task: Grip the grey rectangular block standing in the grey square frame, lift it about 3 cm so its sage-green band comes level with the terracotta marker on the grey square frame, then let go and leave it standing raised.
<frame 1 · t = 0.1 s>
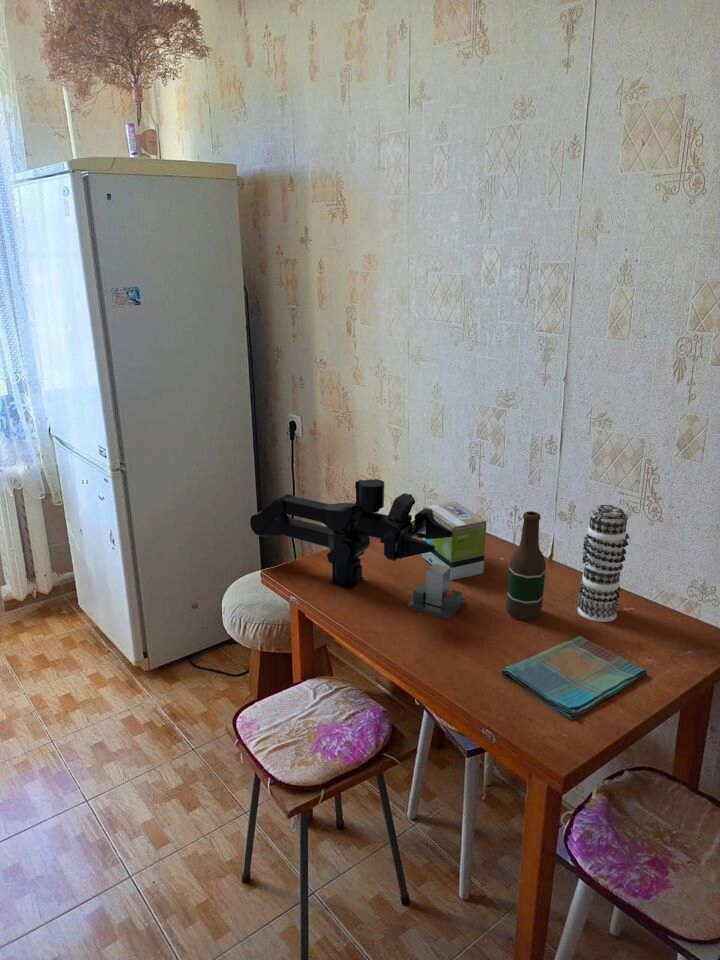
hand: (443, 541, 158), 17 cm above the table, tool horizontal, fingers open, 9 cm apart
grey square frame: (437, 605, 164), on the table
dish towel: (573, 679, 138), on the table
decorative candle: (596, 613, 161), on the table
tea box: (451, 566, 184), on the table
grey rectangular block: (437, 586, 163), point 5 cm above the table, slide at 0.0 cm
beer bottle: (523, 613, 161), on the table
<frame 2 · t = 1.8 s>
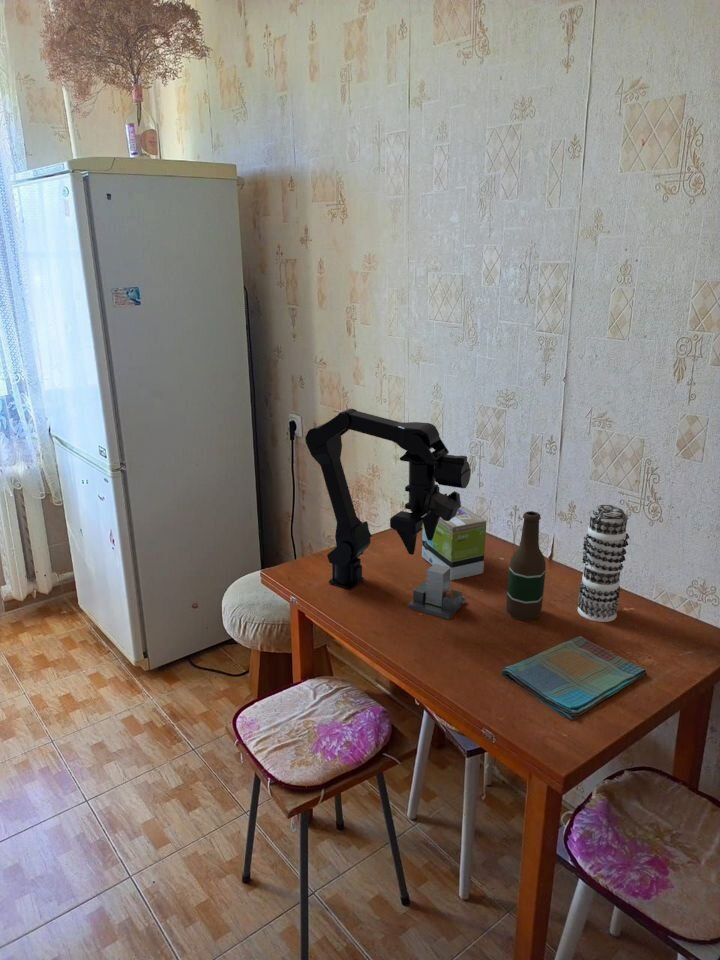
hand: (420, 547, 162), 13 cm above the table, tool pointing down, fingers open, 9 cm apart
nothing on the table moved.
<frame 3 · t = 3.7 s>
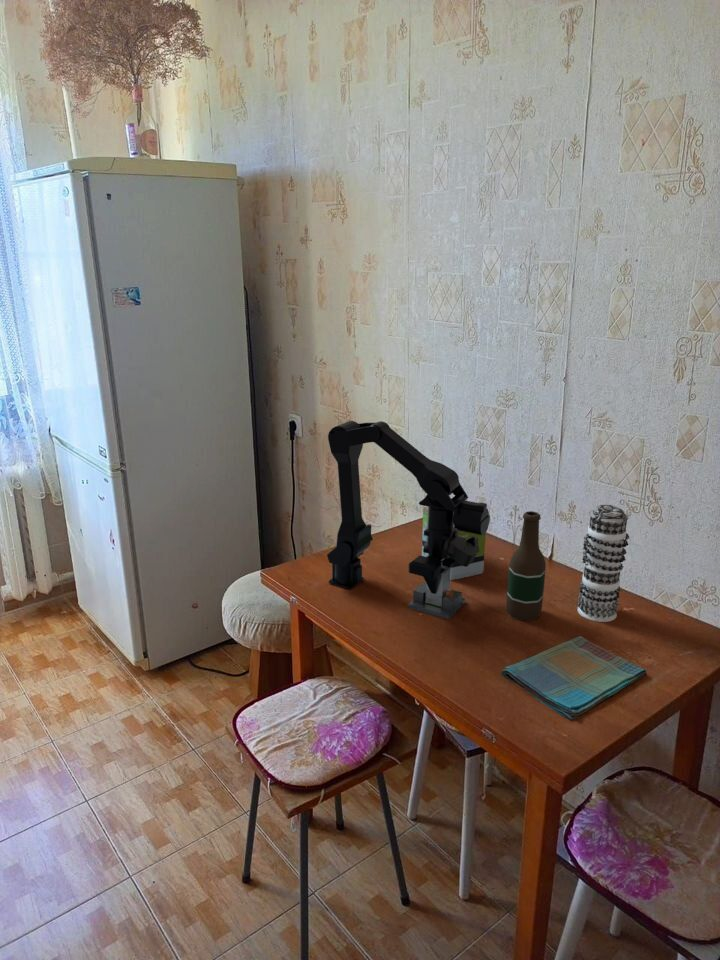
hand: (437, 589, 163), 4 cm above the table, tool pointing down, fingers closed on grey rectangular block, 4 cm apart
grey rectangular block: (437, 586, 163), point 5 cm above the table, slide at 0.0 cm, touching gripper
everything else where it was.
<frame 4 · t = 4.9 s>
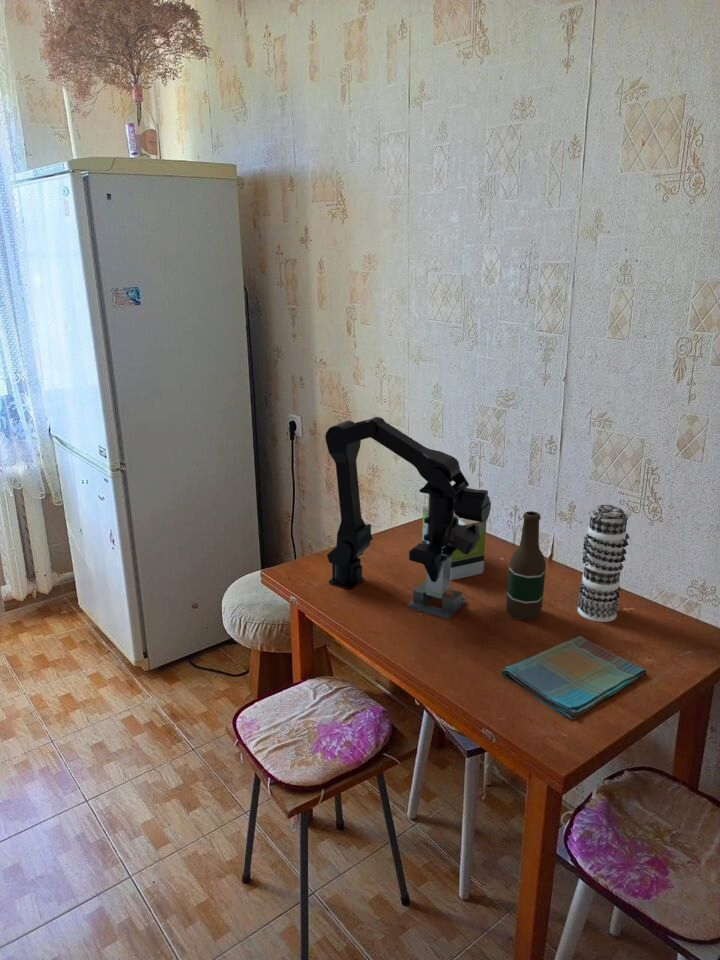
hand: (438, 577, 162), 7 cm above the table, tool pointing down, fingers closed on grey rectangular block, 4 cm apart
grey rectangular block: (438, 575, 162), point 8 cm above the table, slide at 2.9 cm, touching gripper
everything else where it was.
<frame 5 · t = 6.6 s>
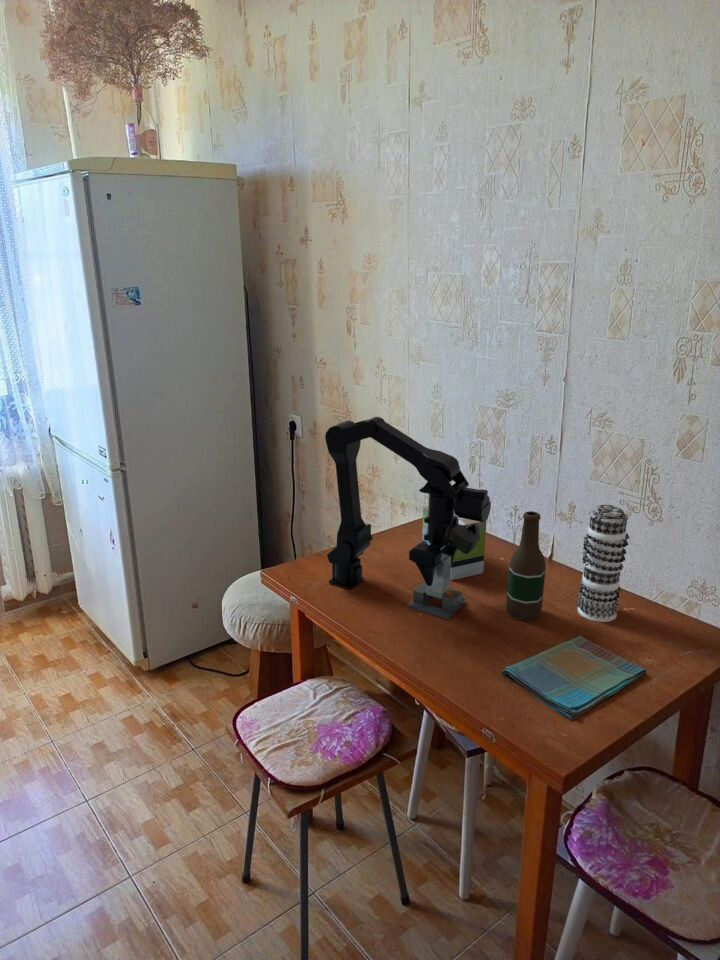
hand: (438, 577, 162), 7 cm above the table, tool pointing down, fingers open, 9 cm apart
grey rectangular block: (438, 575, 162), point 8 cm above the table, slide at 2.9 cm
everything else where it was.
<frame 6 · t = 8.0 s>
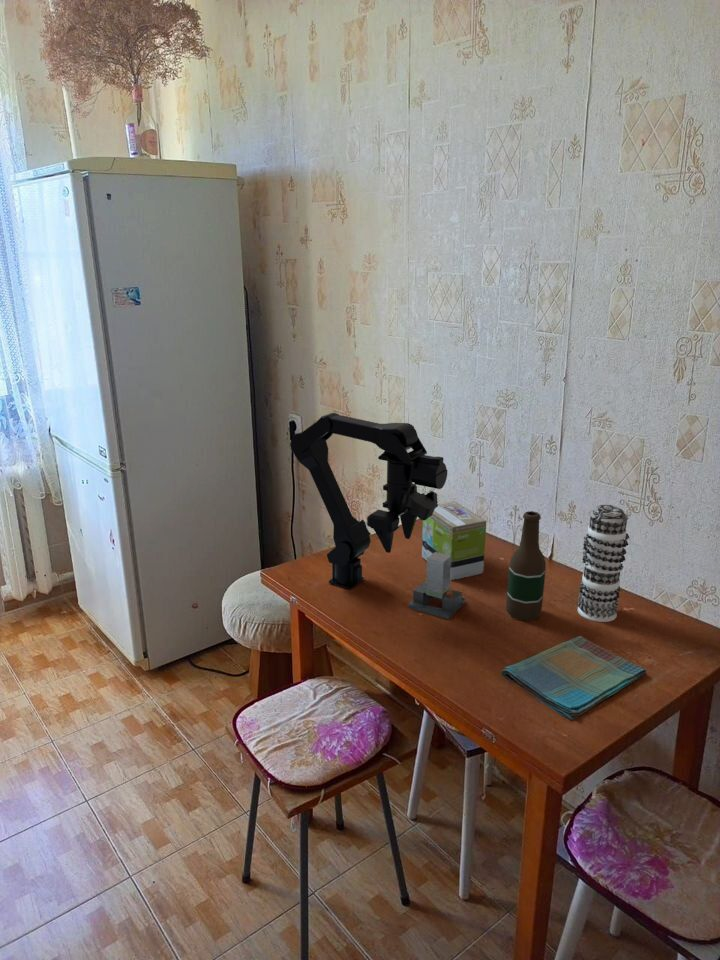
hand: (398, 545, 164), 13 cm above the table, tool pointing down, fingers open, 9 cm apart
nothing on the table moved.
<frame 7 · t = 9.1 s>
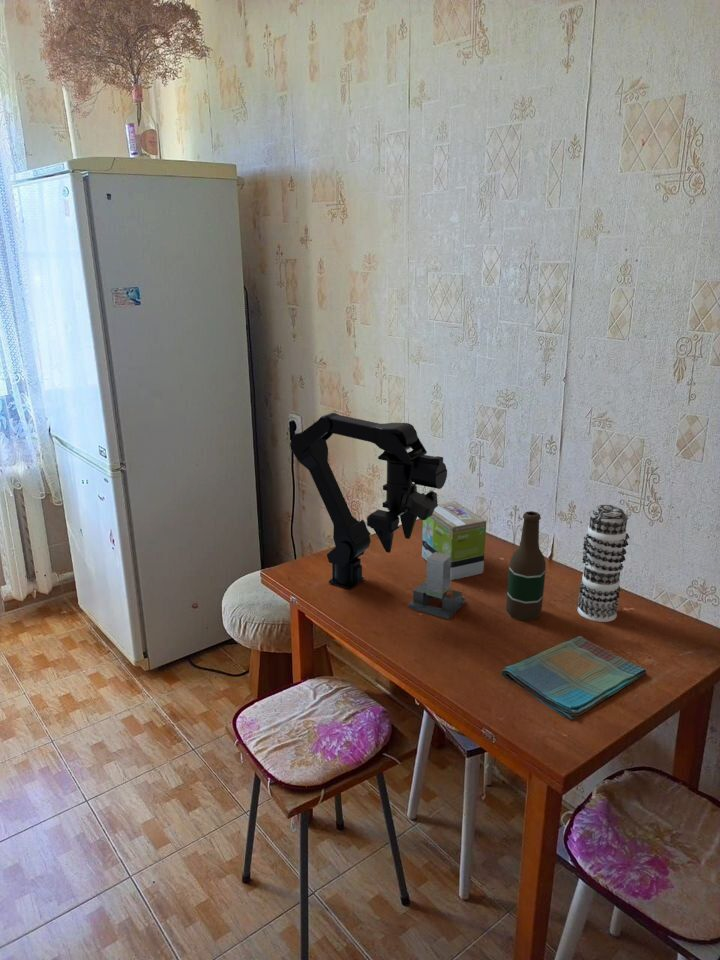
hand: (398, 545, 164), 13 cm above the table, tool pointing down, fingers open, 9 cm apart
nothing on the table moved.
at the end: grey rectangular block slide at 2.9 cm; the gripper is holding nothing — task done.
